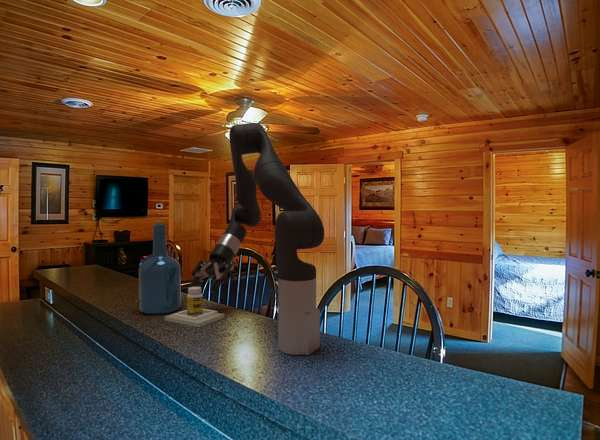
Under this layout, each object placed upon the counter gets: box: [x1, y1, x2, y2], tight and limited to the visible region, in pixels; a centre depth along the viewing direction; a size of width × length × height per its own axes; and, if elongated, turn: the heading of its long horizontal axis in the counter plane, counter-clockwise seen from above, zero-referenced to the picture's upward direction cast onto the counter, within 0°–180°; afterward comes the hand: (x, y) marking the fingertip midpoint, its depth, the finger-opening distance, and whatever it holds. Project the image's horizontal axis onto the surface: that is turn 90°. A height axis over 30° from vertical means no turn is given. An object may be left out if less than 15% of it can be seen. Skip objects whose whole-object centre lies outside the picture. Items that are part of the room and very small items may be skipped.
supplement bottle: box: [186, 286, 204, 317], centre depth 119 cm, size 5×5×8 cm
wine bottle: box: [138, 220, 182, 315], centre depth 129 cm, size 14×13×30 cm
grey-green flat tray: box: [164, 308, 225, 328], centre depth 119 cm, size 14×11×2 cm
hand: (201, 290), depth 122 cm, fingers open, 8 cm apart
